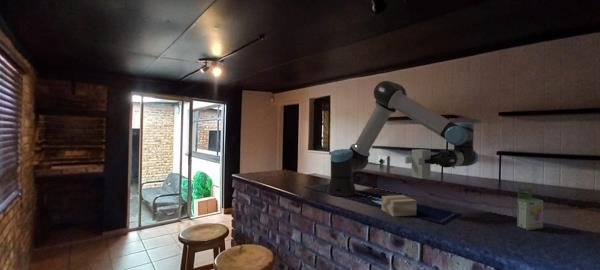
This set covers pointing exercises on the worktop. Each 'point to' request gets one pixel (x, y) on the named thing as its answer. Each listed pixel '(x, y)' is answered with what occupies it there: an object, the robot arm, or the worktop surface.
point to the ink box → (529, 211)
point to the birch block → (399, 205)
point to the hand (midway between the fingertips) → (411, 160)
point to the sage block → (420, 170)
